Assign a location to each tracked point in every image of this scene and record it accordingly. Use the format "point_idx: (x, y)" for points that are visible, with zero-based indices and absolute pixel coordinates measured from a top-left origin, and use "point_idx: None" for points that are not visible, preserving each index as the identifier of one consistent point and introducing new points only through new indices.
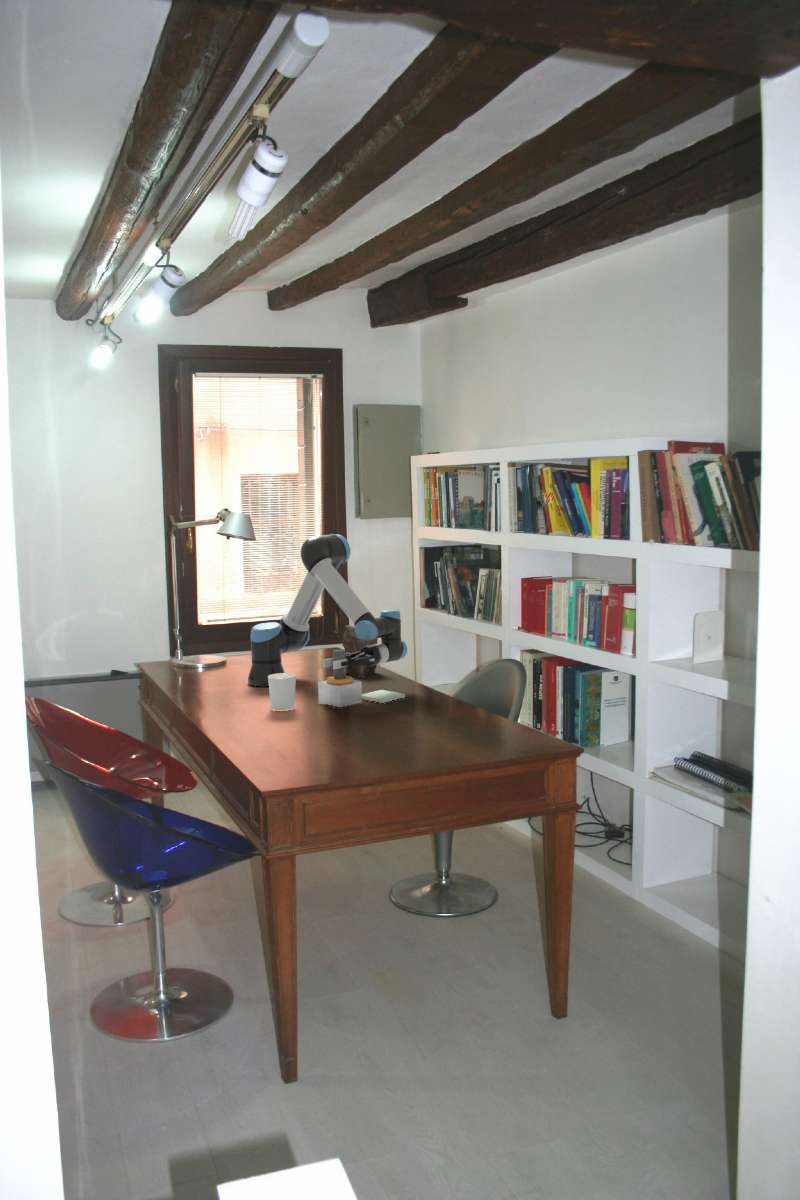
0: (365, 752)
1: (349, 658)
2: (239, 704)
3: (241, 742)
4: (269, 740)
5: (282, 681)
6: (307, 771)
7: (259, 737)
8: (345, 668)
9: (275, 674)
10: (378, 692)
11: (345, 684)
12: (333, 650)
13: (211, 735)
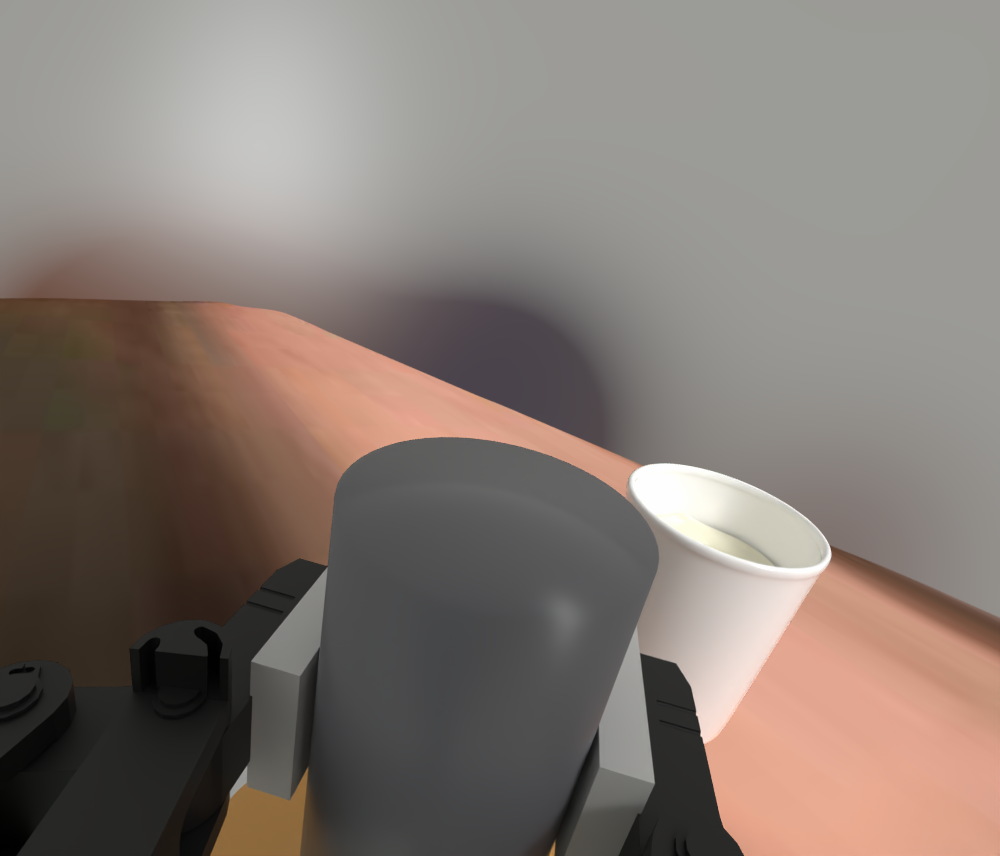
0: (69, 357)
1: (183, 640)
2: (927, 709)
3: (443, 401)
4: (386, 407)
5: (640, 482)
6: (213, 323)
7: (427, 419)
8: (302, 839)
9: (821, 546)
10: None
11: (245, 783)
12: (627, 506)
13: (550, 426)
